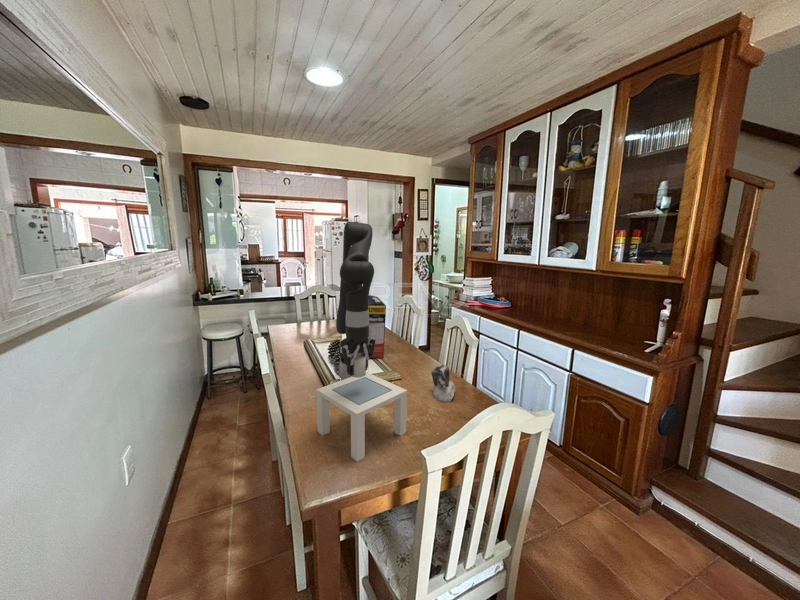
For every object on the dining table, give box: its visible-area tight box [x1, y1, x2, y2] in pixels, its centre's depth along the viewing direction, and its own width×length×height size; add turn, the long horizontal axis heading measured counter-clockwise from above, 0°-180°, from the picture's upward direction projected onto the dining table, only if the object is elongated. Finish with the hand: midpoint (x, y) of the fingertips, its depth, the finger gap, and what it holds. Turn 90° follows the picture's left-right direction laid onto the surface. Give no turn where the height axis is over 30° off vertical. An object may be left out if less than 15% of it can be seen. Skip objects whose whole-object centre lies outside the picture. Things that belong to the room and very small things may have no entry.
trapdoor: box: [333, 378, 391, 405], centre depth 114 cm, size 14×14×1 cm
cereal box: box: [366, 294, 387, 360], centre depth 195 cm, size 27×11×32 cm, turn 14°
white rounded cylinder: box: [350, 354, 367, 378], centre depth 110 cm, size 5×5×6 cm
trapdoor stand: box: [315, 371, 408, 462], centre depth 115 cm, size 22×22×16 cm
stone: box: [431, 364, 456, 403], centre depth 144 cm, size 14×10×15 cm
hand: (357, 372), depth 111 cm, fingers closed on white rounded cylinder, 5 cm apart
